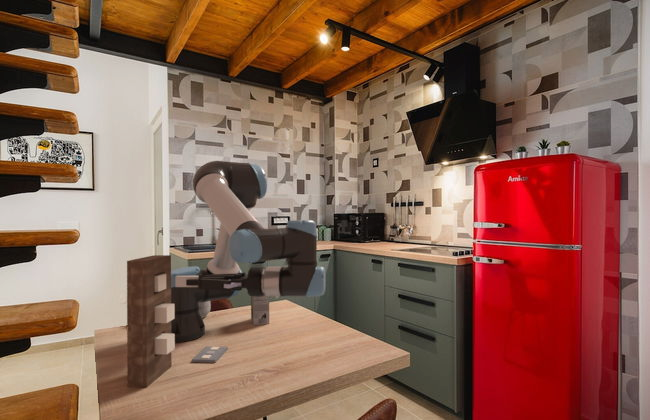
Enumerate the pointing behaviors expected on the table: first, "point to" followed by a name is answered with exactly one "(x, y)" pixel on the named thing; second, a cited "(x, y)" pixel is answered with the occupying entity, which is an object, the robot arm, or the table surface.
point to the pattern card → (210, 354)
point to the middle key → (164, 313)
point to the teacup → (205, 308)
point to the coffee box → (260, 310)
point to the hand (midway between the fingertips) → (176, 281)
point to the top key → (159, 282)
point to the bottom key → (164, 343)
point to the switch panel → (146, 319)
